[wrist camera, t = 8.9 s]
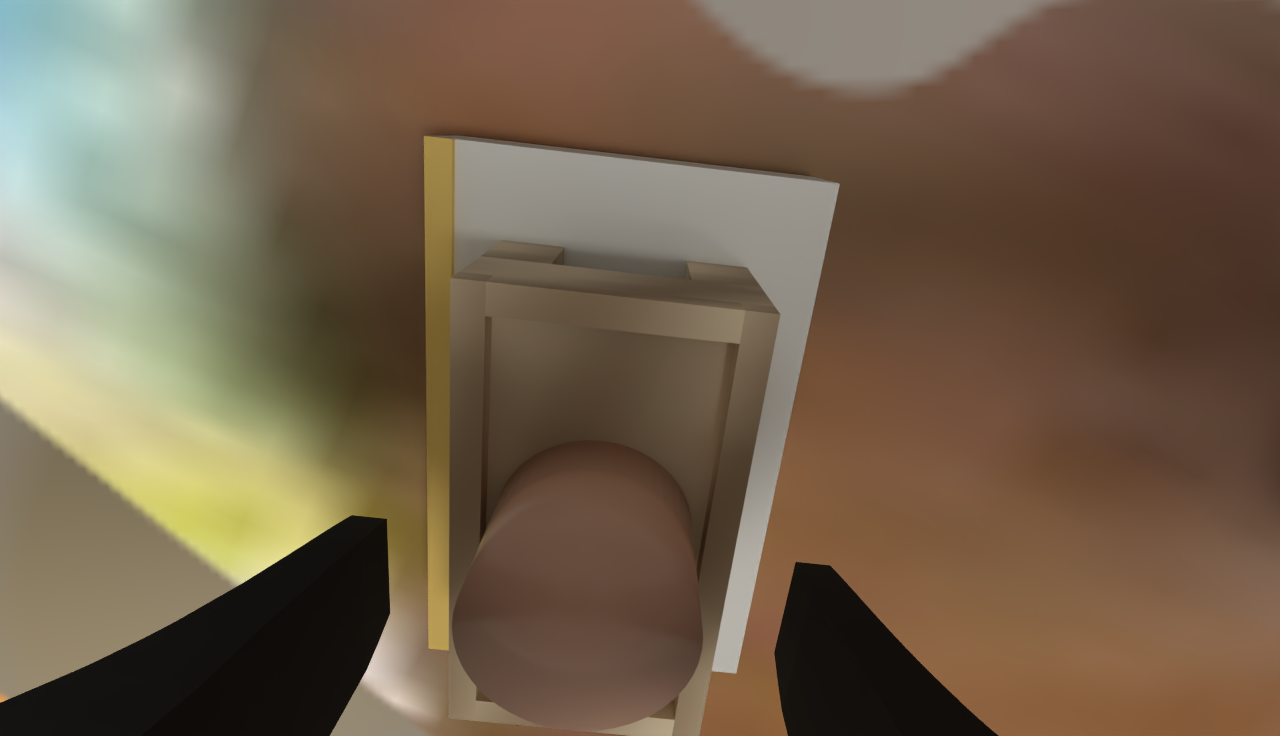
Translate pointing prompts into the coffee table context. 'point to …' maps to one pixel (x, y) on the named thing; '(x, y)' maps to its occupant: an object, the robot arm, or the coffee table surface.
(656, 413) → the wooden box
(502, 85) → the coffee table surface
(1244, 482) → the coffee table surface
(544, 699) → the pink rounded cylinder
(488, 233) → the dock
